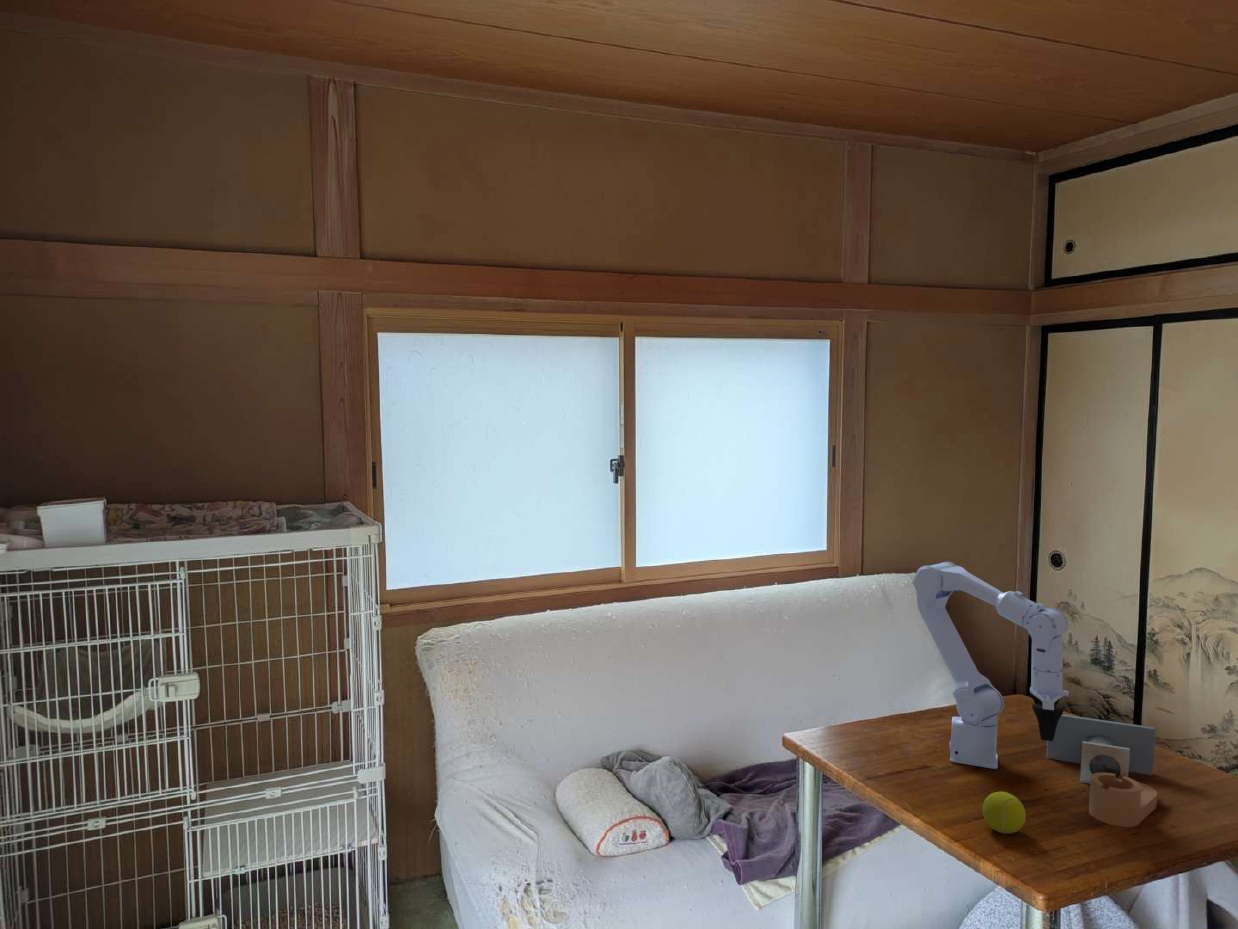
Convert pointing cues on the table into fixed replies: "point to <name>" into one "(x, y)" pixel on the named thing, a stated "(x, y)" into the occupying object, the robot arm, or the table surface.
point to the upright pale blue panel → (1103, 746)
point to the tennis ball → (1004, 812)
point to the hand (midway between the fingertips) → (1046, 734)
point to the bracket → (1120, 800)
